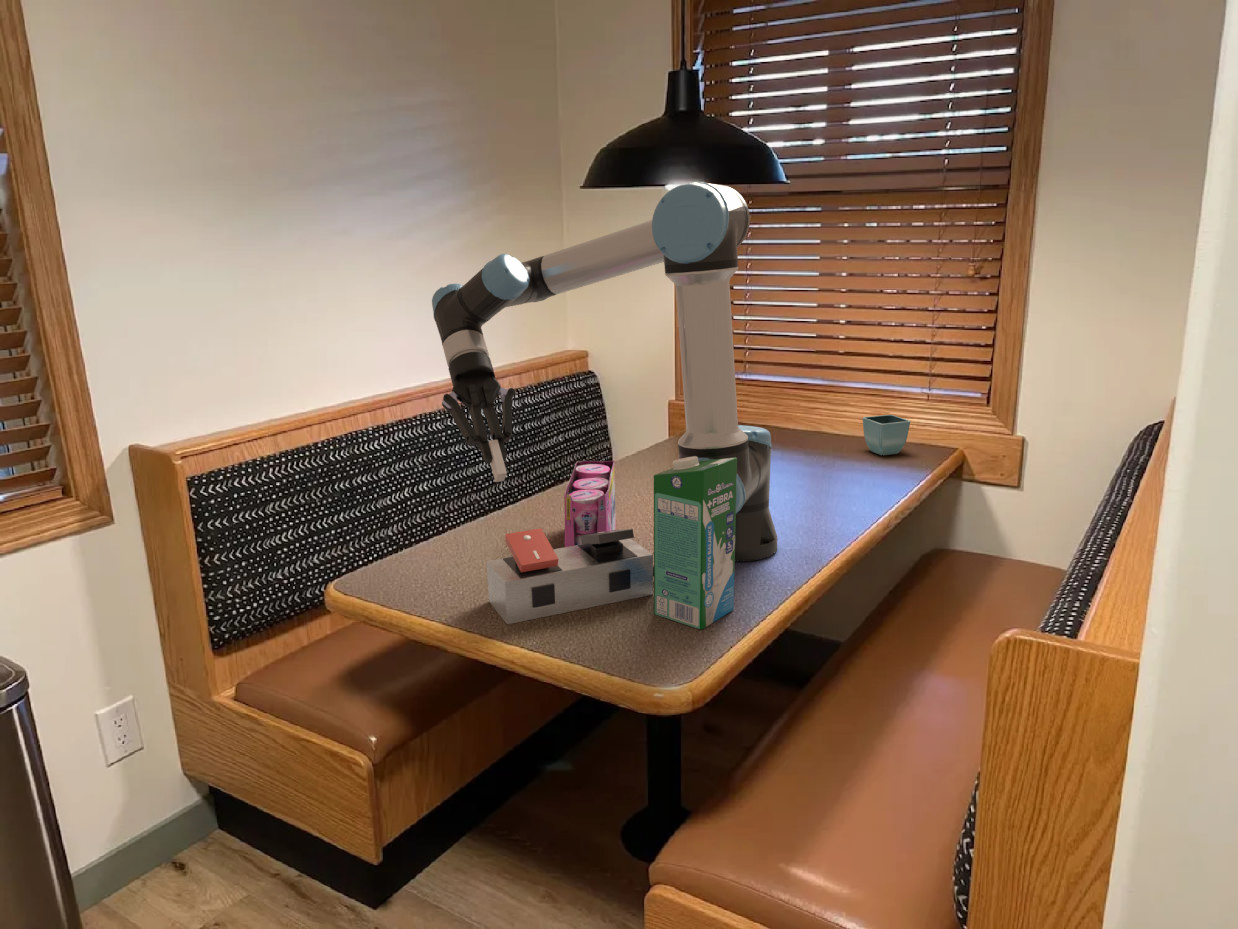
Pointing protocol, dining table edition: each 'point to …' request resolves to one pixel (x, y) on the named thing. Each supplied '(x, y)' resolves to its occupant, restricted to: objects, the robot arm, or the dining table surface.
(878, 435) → the flower pot
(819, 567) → the dining table surface
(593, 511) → the gum box
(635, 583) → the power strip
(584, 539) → the black rocker
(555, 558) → the red rocker
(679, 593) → the milk carton
